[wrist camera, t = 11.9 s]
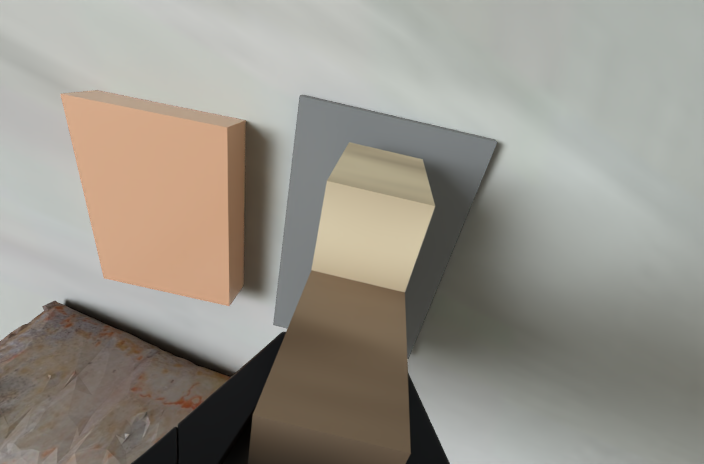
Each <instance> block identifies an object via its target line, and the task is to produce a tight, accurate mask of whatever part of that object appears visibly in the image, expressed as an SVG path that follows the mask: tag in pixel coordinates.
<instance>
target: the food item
mask: <svg viewBox="0 0 704 464" xmlns="http://www.w3.org/2000/svg"><path fill="white" fill-rule="evenodd" d="M43 309H44V312H42V313H41V314H40V315H38V316H37V317H36V318H34V319H33V320H32V321H31V322H29V323H28V324H25V325H22V326H21V327H19V328H18V329H16V330H15V331H13V332H11V333H10V334H9V335H8V336H6V337H5V338H4V339H3V340H1V341H0V464H131V463H132V462H133V461H135V460H136V459H137V458H138V457H139V456H141V455H142V454H143V453H144V452H145V451H147V450H148V449H149V448H150V447H151V446H153V445H154V444H155V443H156V442H157V441H159V440H160V439H161V438H162V437H163V436H164V435H165V434H167V433H168V432H169V431H170V430H171V429H172V428H173V427H175V426H176V427H177V425H178V423H179V422H180V421H182V420H183V419H184V418H185V417H186V416H187V415H188V414H189V413H191V412H192V411H193V410H194V409H195V408H196V407H197V406H199V405H200V404H201V403H202V402H203V401H204V400H205V399H207V398H208V397H209V396H210V395H211V394H212V393H213V392H214V391H216V390H217V389H218V388H219V387H220V386H221V385H222V384H224V383H225V382H226V381H227V380H228V379H229V378H230V377H229V376H227V375H224V374H221V373H218V372H215V371H212V370H210V369H207V368H204V367H200V366H197V365H195V364H193V363H192V362H190V361H188V360H186V359H183V358H180V357H176V356H174V355H173V354H171V353H169V352H165V351H162V350H161V349H160V348H159V347H156V346H154V345H151V344H149V343H146V342H144V341H143V340H141V339H139V338H137V337H135V336H133V335H131V334H130V333H127V332H124V331H121V330H119V329H116V328H114V327H111V326H109V325H107V324H104V323H102V322H100V321H98V320H96V319H94V318H92V317H89V316H87V315H85V314H82V313H80V312H78V311H75V310H73V309H71V308H69V307H67V306H65V305H63V304H60V303H58V302H56V301H53V302H51V303H49V304H47V305H45V306H43Z"/></svg>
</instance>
